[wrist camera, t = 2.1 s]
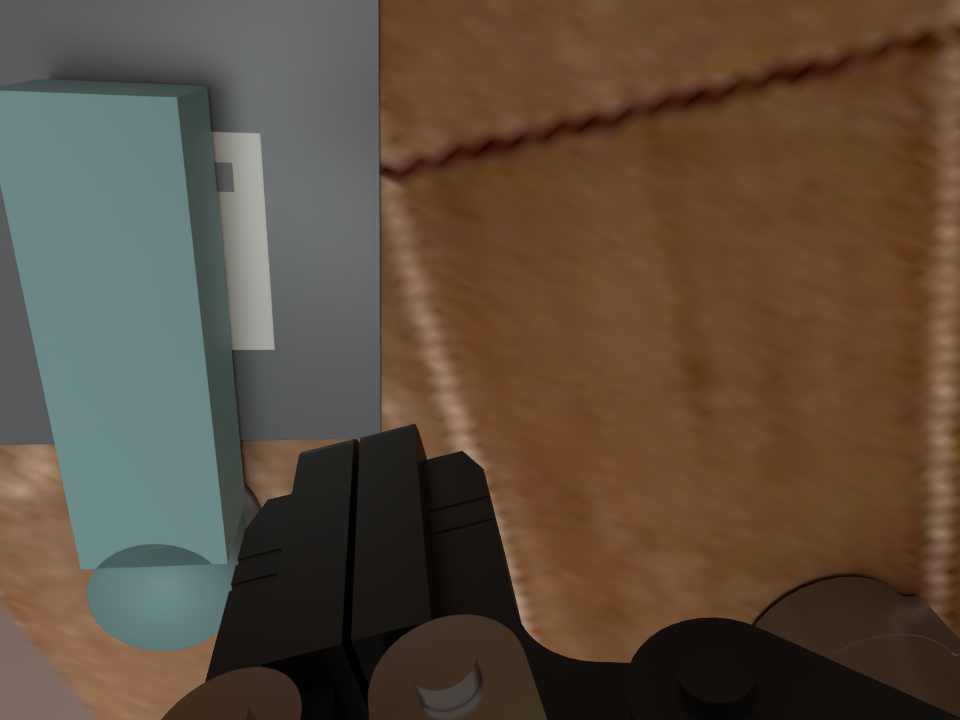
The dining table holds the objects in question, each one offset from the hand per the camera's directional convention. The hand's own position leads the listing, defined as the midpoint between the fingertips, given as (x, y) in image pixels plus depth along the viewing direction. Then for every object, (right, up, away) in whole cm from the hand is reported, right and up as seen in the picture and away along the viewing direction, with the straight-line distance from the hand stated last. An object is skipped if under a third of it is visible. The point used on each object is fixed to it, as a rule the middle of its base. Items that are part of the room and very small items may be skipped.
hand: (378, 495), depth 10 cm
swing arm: (-10, +2, +18) cm, 21 cm away
